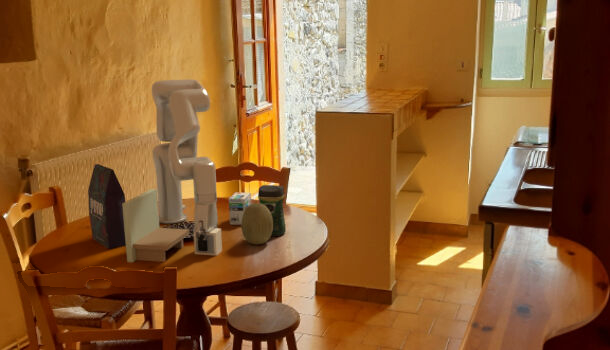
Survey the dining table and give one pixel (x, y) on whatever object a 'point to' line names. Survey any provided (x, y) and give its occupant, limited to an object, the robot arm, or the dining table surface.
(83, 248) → the dining table surface
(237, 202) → the light bulb box
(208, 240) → the cabinet block
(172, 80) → the robot arm
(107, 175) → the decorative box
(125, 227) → the pale l-shaped piece
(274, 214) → the coffee jar
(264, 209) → the fruit
